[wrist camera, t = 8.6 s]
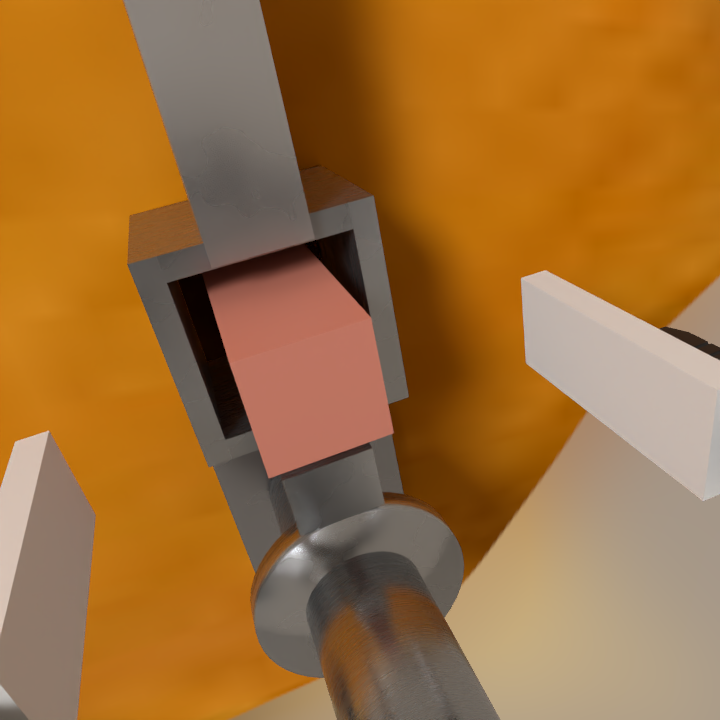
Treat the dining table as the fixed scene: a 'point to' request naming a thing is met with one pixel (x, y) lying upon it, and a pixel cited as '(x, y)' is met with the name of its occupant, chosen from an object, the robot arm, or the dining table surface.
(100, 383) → the dining table surface
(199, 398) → the bracket
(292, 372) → the wedge pin
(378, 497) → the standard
